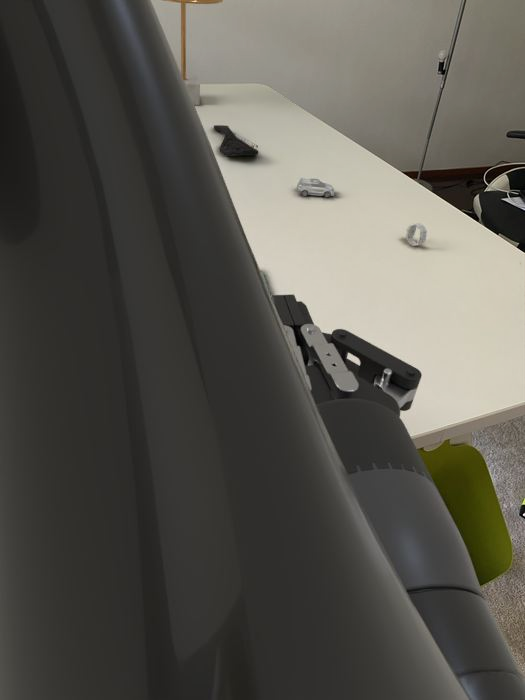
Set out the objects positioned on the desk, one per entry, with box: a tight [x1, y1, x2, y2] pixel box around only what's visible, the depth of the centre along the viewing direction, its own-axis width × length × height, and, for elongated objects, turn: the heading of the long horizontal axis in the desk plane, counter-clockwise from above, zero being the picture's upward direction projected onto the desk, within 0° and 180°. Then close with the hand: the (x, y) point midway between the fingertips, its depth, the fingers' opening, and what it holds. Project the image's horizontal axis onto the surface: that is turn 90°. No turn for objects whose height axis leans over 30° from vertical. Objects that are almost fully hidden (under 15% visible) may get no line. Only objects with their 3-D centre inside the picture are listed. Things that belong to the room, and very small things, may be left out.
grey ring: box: [405, 222, 428, 247], centre depth 100 cm, size 4×2×4 cm, turn 31°
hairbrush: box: [213, 124, 259, 157], centre depth 133 cm, size 8×4×25 cm
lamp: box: [162, 0, 224, 106], centre depth 147 cm, size 21×21×41 cm
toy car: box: [296, 177, 336, 199], centre depth 114 cm, size 4×8×3 cm, turn 93°
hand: (280, 305), depth 37 cm, fingers closed
